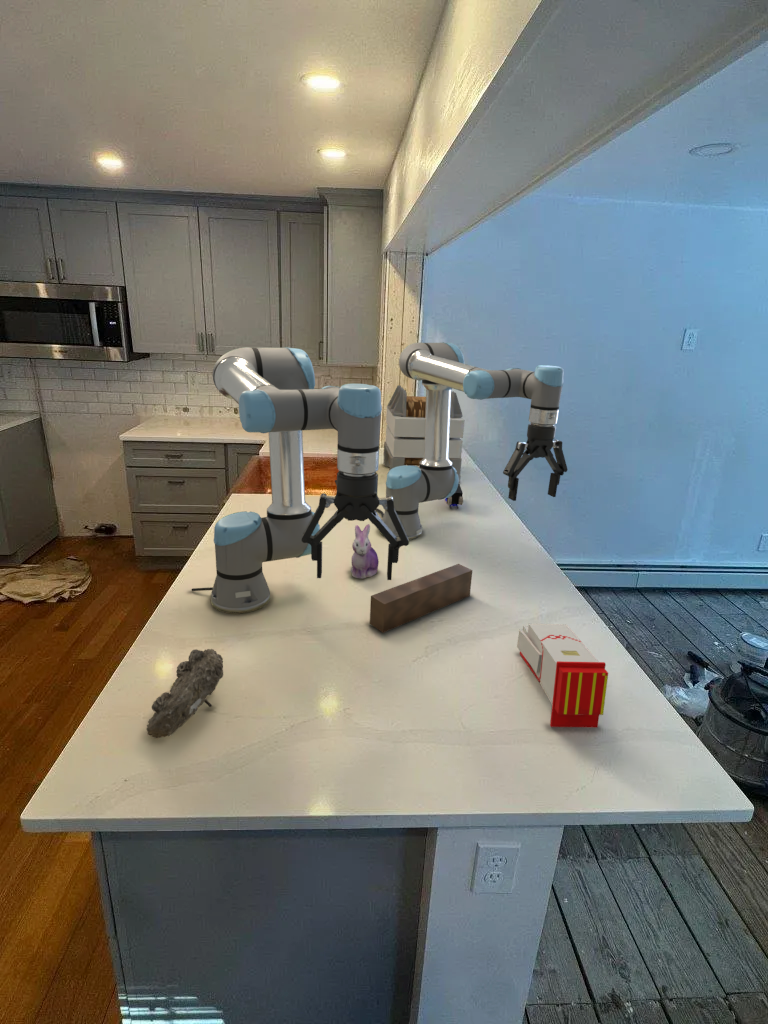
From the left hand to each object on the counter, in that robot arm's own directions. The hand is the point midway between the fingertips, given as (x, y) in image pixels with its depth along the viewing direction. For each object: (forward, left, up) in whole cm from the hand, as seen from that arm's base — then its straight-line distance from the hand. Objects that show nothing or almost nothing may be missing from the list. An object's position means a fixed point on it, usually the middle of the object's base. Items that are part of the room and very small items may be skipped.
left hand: (354, 576), depth 111 cm
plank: (+9, +36, -25) cm, 45 cm away
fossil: (-28, -15, -25) cm, 41 cm away
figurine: (-11, +52, -25) cm, 59 cm away
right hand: (+34, +64, 0) cm, 73 cm away
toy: (+41, +12, -25) cm, 50 cm away
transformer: (-15, +166, -25) cm, 169 cm away
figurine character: (+6, +124, -25) cm, 127 cm away
